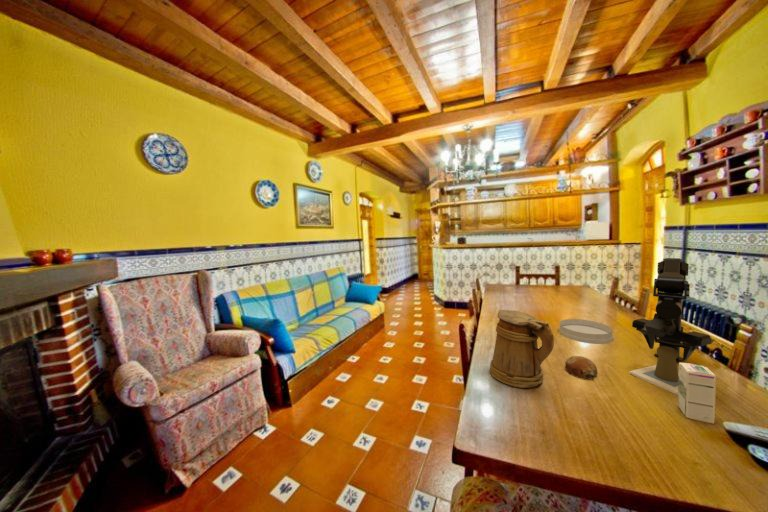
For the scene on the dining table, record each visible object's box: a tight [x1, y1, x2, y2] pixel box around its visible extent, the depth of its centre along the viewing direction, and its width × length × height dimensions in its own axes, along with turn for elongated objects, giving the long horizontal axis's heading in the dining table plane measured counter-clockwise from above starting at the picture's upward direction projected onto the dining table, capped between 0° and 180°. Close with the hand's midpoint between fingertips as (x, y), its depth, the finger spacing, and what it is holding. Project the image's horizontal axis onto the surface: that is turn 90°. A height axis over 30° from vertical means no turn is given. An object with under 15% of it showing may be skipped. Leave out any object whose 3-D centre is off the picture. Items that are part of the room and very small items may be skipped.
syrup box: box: [677, 361, 717, 425], centre depth 75 cm, size 6×6×14 cm
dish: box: [558, 318, 614, 345], centre depth 134 cm, size 22×22×5 cm
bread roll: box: [564, 355, 599, 380], centre depth 101 cm, size 10×10×8 cm
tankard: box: [489, 309, 555, 389], centre depth 98 cm, size 18×24×25 cm
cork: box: [654, 346, 679, 382], centre depth 92 cm, size 6×6×11 cm
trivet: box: [628, 364, 679, 396], centre depth 93 cm, size 14×14×1 cm
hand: (667, 354), depth 92 cm, fingers open, 9 cm apart
